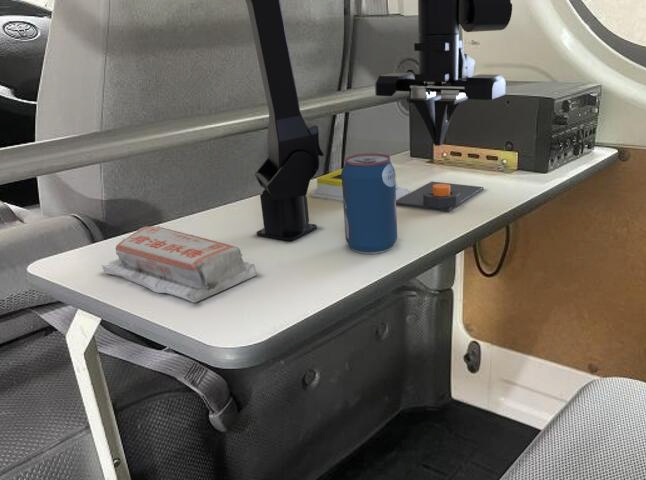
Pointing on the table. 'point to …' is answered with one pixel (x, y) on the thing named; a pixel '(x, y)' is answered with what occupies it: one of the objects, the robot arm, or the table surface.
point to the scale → (439, 197)
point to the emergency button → (340, 187)
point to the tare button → (441, 190)
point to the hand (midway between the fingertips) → (438, 145)
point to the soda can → (369, 203)
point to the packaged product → (179, 263)
